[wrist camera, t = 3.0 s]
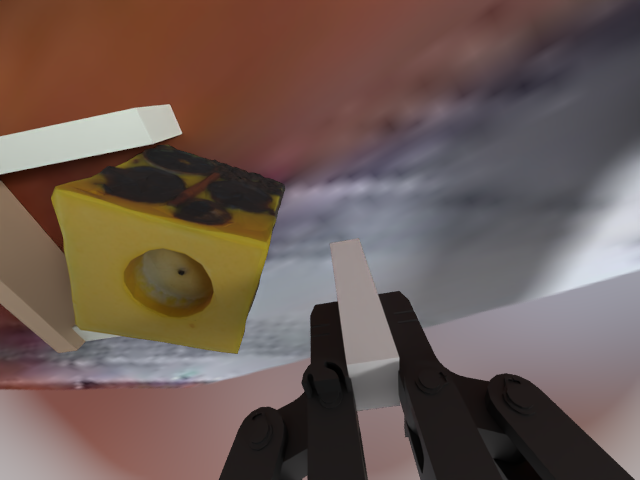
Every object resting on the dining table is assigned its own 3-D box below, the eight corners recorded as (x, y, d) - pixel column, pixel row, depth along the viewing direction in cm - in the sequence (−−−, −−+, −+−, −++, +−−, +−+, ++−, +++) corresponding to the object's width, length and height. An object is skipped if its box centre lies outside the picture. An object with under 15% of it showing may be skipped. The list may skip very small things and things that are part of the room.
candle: (157, 245, 24) (71, 331, 16) (159, 139, 19) (36, 181, 11) (262, 271, 26) (237, 360, 17) (287, 181, 21) (270, 244, 13)
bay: (169, 104, 18) (124, 108, 14) (249, 289, 27) (237, 327, 23) (-52, 151, 19) (-158, 168, 15) (96, 313, 28) (58, 353, 24)
